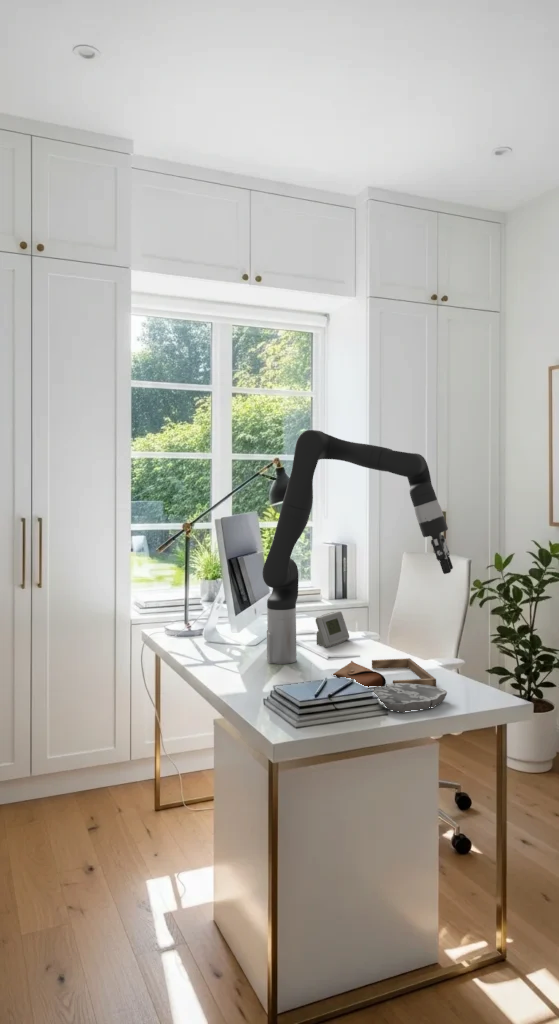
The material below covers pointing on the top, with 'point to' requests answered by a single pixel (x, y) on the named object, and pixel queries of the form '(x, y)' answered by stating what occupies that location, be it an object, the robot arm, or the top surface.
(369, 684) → the sunglasses case
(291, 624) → the robot arm
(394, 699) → the grey flat stone slab
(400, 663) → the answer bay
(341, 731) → the top surface
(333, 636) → the digital clock
